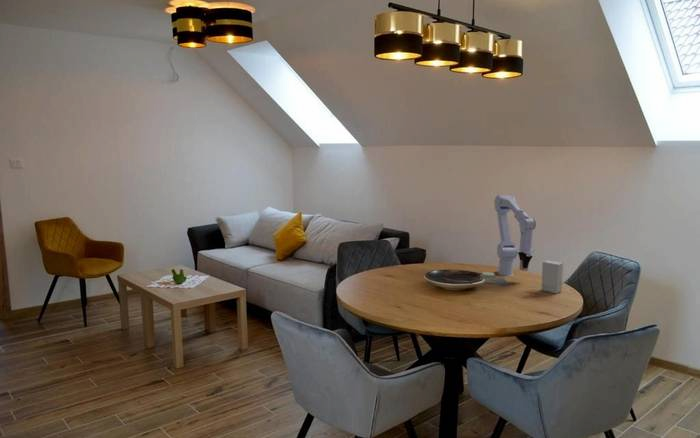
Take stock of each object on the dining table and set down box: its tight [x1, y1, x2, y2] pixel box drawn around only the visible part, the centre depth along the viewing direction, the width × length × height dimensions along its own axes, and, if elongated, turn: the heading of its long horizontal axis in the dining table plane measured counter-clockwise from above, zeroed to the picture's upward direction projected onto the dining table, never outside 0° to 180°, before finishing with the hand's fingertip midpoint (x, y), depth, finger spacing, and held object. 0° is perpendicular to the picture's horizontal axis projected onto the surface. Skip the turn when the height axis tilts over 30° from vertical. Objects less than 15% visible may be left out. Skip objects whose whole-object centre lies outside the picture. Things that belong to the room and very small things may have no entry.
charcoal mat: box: [480, 277, 511, 287], centre depth 278 cm, size 16×20×1 cm
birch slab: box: [479, 274, 497, 283], centre depth 278 cm, size 7×7×2 cm
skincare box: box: [541, 260, 564, 294], centre depth 264 cm, size 8×6×15 cm
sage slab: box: [480, 271, 496, 279], centre depth 277 cm, size 6×6×2 cm
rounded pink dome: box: [518, 259, 530, 272], centre depth 278 cm, size 4×4×5 cm
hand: (523, 267), depth 278 cm, fingers closed on rounded pink dome, 4 cm apart
